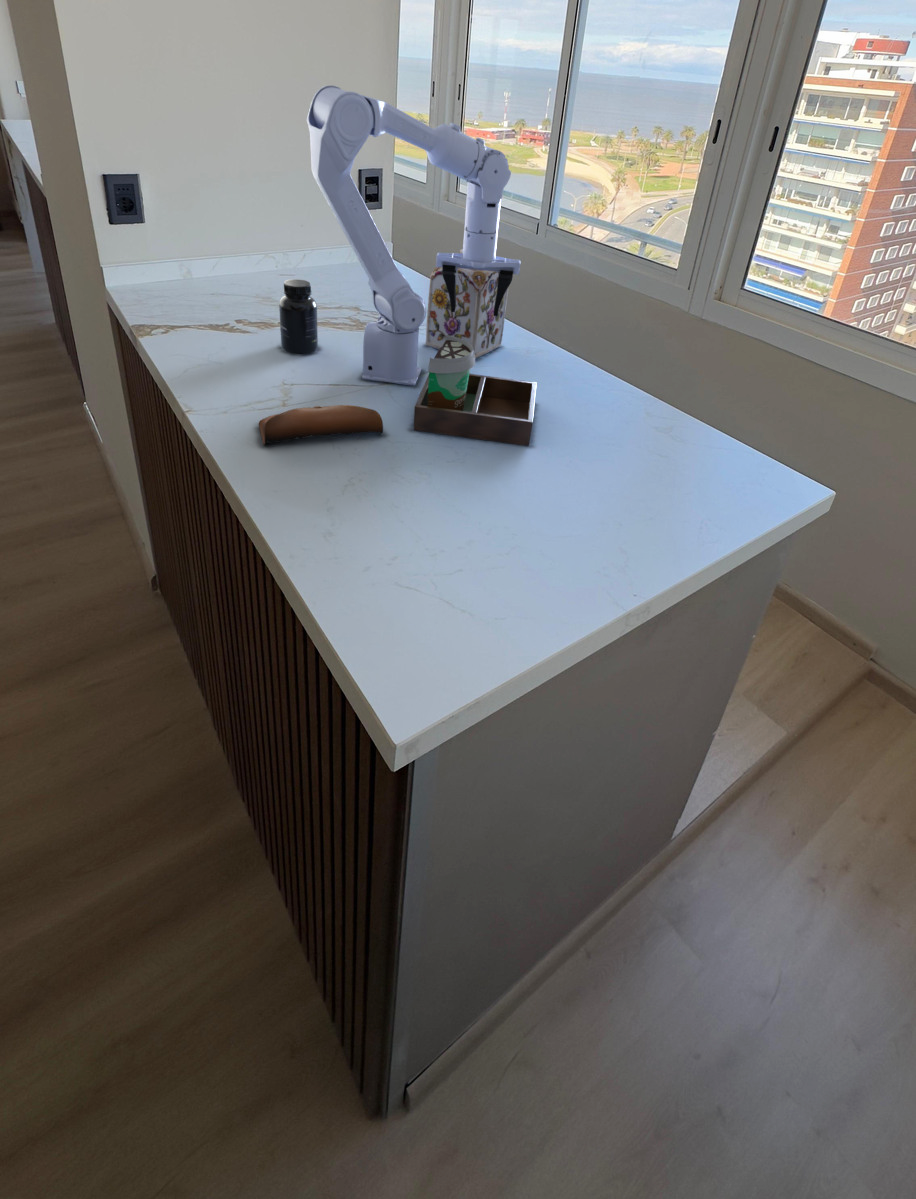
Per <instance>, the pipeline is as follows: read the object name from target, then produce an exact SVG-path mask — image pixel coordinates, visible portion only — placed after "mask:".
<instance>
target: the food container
mask: <svg viewBox="0 0 916 1199" xmlns="http://www.w3.org/2000/svg"><path fill="white" fill-rule="evenodd" d="M428 359H429V361H428V366H427V367H428V368H427V373H428V375H429V382H428V406H429V407H437V408H444V409H451V410H459V411H463V408H464V402H465V396H466V390H467V385H468V379H469V374H471V373H470V372H471V369H472V368H473V367H474V366H475V365H476V359H475V355H474V351H473V347H472V346H471V345H470V344H469V343H468V342H466V341H465V340H462V339H460V338H457V337H453V336H449V335H446V336H445V342H444V344H443V346H442V347H441V348H439V349H437V351H436V353H435V355H434V357H429V358H428Z"/></svg>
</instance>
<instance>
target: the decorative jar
mask: <svg viewBox="0 0 916 1199" xmlns="http://www.w3.org/2000/svg"><path fill="white" fill-rule="evenodd" d="M459 253H463V248H461V249H460V250H459ZM498 275H499V272H496V271H485V270H474V269H463V268H457V280H456V309H455V312H451V304H450V298H449V293H448V290H447V286H446V284H445V281H444V278H443V275H442V268H440V267H436V266H435V268H434V269H433V271H432V272H431V273H430V276H429V287H428V295H427V297H428V298H427V299H428V300H427V307H426V326H425V346H427V347H430V348H433V349H437V350H439V348H441V347H442V346H443V344H444V342H445V336H446V335H449V336H453V337H457V338H460V339H462V340H465V341H466V342H468V343H469V344H470V345H471V346H472V347H473V351H474V355H475V360H476V359H478V358H480V357H482V356H484V355H486V354H488V353H490V352H492V351H494V350H496V349H498V348H500V347H501V345H502V341H503V336H504V329H505V328H504V327H505V319H506V310H507V301H508V294H509V288H508V289H507V290H506V292H505V294H504V296H503V299H502V301H501V304H500V307H499V310H498V315H497V316H494V305H495V300H496V294H497V285H498Z"/></svg>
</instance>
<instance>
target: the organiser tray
mask: <svg viewBox="0 0 916 1199" xmlns="http://www.w3.org/2000/svg"><path fill="white" fill-rule="evenodd" d="M428 382H429V374H428V375H427V377H426V380H425V382H424V384H423V386H422V388H421V391H420V393H419V395H418V398H417V400H416V402H415V405H414V412H413V431H415V432H416V431H417V432H423V433H431V434H438V435H446V436H452V437H461V438H468V439H475V440H481V441H482V440H483V441H491V442H497V443H504V444H510V445H511V444H512V445H519V446H526V447H529V446H530V442H531V436H532V430H533V423H534V416H535V415H534V413H535V406H536V404H535V403H536V396H537V395H536V393H537V381H536V382H535V381H529V380H520V379H513V378H505V377H497V376H490V375H482V374H476V373H475V374H474V373H469V379H468V385H467V390H466V396H465V402H464V408H463V411H459V410H451V409H444V408H437V407H429V406H428Z"/></svg>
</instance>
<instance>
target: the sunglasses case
mask: <svg viewBox="0 0 916 1199" xmlns="http://www.w3.org/2000/svg"><path fill="white" fill-rule="evenodd" d="M258 430H259V433H260V437H261V442H262V445H267V443H268V444H271V443H277V442H285V441H293V440H296V439H305V438H310V437H328V436H329V437H330V436H335V435H336V436H337V435H352V434H366V433H380V434H381V435H383V434H384V421H383V418H382V416H381V414H380V412H378V411H377V410H375V409H372V408H368V407H364V406H359V405H349V404H336V405H324V406H321V405H314V406H313V407H297V408H292V409H288V410H286V411H283V412H280V413H277V414H271V415H269V416H266V417H265V418H262V419H260V420H259V422H258Z"/></svg>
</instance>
